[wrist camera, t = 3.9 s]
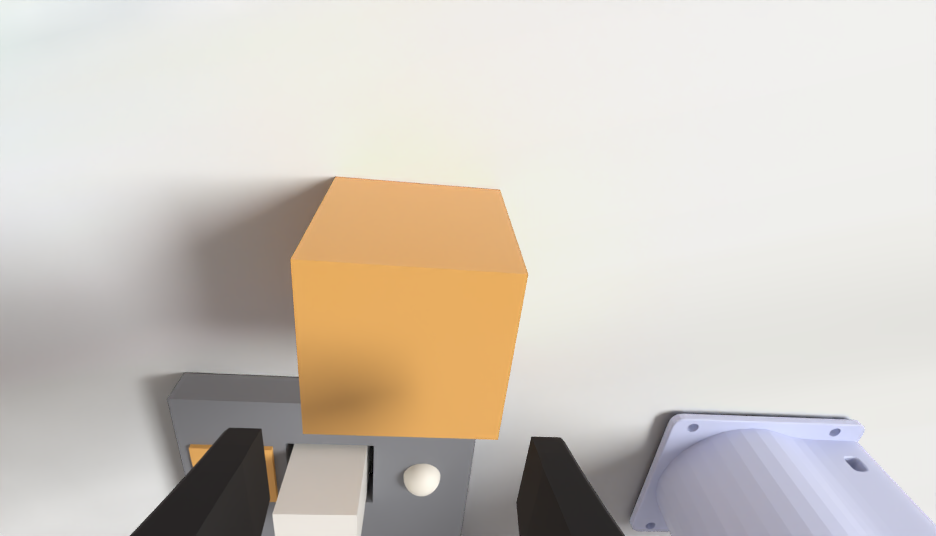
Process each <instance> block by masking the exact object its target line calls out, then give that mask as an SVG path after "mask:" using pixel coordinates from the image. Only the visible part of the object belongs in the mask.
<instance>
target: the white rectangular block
mask: <svg viewBox="0 0 936 536" xmlns="http://www.w3.org/2000/svg"><path fill="white" fill-rule="evenodd" d="M369 470H370V446H365V445H328V444H294V447H293V450H292V453H291V456H290V459H289V463H288V466H287V469H286V472H285V475H284V479H283V482H282V485H281V488H280V491H279V495H278V498H277V501H276V504H275V507H274V511H273V514H272V515H273V523H274V531H275V536H361V531H362V524H363V517H364V509H365V502H366V495H367V487H368V480H369Z"/></svg>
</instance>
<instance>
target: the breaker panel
mask: <svg viewBox="0 0 936 536" xmlns="http://www.w3.org/2000/svg"><path fill="white" fill-rule="evenodd" d="M167 401H168V405H169V409H170V413H171V418H172V422H173V426H174V430H175V434H176V439H177V443H178V447H179V451H180V455H181V460H182V464H183V468H184V472H185V476H186V475H187V474H188V472H189V471H190V470H191V469H192V468H193V467H194V466H195V465H196V463H197V462H198V461H199V460H200V459H201V458H202V456H203V455H204V454H205V453H206V452H207V451H208V450H209V448H210V447H211V446H212V445H213V444H214V443H215V441H216V440H217V439H218V438H219V437H220V435H221V434H222V433H223V432H224V431H225V430H227V429H228V428H260V429H262V436H263V444H264V452H265V460H266V468H267V476H268V484H269V492H270V502H269V506H268V510H267V514H266V518H265V523H264V527H263V531H262V534H261V536H275V531H274V523H273V515H272V514H273V511H274V507H275V504H276V501H277V498H278V495H279V491H280V488H281V485H282V482H283V479H284V475H285V472H286V469H287V466H288V463H289V459H290V456H291V453H292V450H293V447H294V444H328V445H365V446H374V468H373V475H372V474H369V480H368V487H367V495H366V502H365V509H364V517H363V524H362V531H361V536H461V530H462V524H463V517H464V511H465V504H466V498H467V491H468V485H469V478H470V472H471V465H472V459H473V452H474V446H475V439H459V438H425V437H390V436H356V435H322V434H303V428H302V414H301V400H300V386H299V377H275V376H250V375H225V374H200V373H184V374H183V376H182V377H181V379H180V380H179V382H178V383H177V385H176V386H175V388H174V389H173V391H172V392H171V394H170V395H169V397H168V398H167Z"/></svg>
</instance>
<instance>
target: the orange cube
mask: <svg viewBox="0 0 936 536" xmlns="http://www.w3.org/2000/svg"><path fill="white" fill-rule="evenodd" d="M290 261H291V275H292V289H293V303H294V317H295V331H296V345H297V359H298V373H299V386H300V400H301V414H302V428H303V434H322V435H356V436H390V437H425V438H459V439H493V440H498V436H499V430H500V425H501V419H502V414H503V408H504V403H505V398H506V392H507V387H508V381H509V376H510V370H511V365H512V359H513V354H514V348H515V343H516V338H517V332H518V327H519V321H520V316H521V310H522V305H523V299H524V294H525V288H526V283H527V278H528V272H527V269H526V266H525V263H524V260H523V258H522V255H521V252H520V249H519V246H518V243H517V240H516V237H515V234H514V231H513V228H512V225H511V222H510V219H509V216H508V213H507V210H506V207H505V204H504V201H503V198H502V195H501V192H500V190H495V189H482V188H470V187H457V186H445V185H432V184H420V183H407V182H395V181H382V180H370V179H357V178H345V177H335V179H334V180H333V182H332V184H331V186H330V188H329V190H328V191H327V193H326V195H325V197H324V199H323V201H322V202H321V204H320V206H319V208H318V210H317V211H316V213H315V215H314V217H313V219H312V221H311V222H310V224H309V226H308V228H307V230H306V232H305V233H304V235H303V237H302V239H301V241H300V243H299V244H298V246H297V248H296V250H295V252H294V254H293V255H292V257H291V259H290Z"/></svg>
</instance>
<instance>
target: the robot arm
mask: <svg viewBox="0 0 936 536" xmlns="http://www.w3.org/2000/svg"><path fill="white" fill-rule="evenodd" d="M864 430H865V429H864V426H863V425H862V424H861V423H860V422H858V421H857V420H845V419H817V418H789V417H761V416H734V415H706V414H677V415H674V416H673V417H672V418H671V419H670V420H669V422H668V425H667V427H666V430H665V432H664V435H663V437H662V440H661V442H660V445H659V447H658V450H657V452H656V455H655V458H654V460H653V463H652V465H651V468H650V470H649V473H648V475H647V478H646V480H645V483H644V485H643V488H642V490H641V493H640V495H639V498H638V500H637V503H636V505H635V508H634V510H633V513H632V515H631V518H630V524H631V527H632V529H634V530H636V531H670V533H671V536H936V525H935V524H934V523H933V521H932V520H931V519H930V518H929V517H928V516H927V515H926V514H925V513H924V512H923V511H922V510H921V509H920V508H919V507H918V506H917V505H916V503H915V502H914V501H913V500H912V499H911V498H910V497H909V496H908V495H907V494H906V493H905V492H904V491H903V490H902V489H901V488H900V487H899V486H898V484H897V483H896V482H895V481H894V480H893V479H892V478H891V477H890V476H889V475H888V474H887V473H886V472H885V471H884V470H883V469H882V468H881V466H880V465H879V464H878V463H877V462H876V461H875V460H874V459H873V458H872V457H871V456H870V455H869V454H868V453H867V452H866V451H865V450H864V449H863V447H862V446H861V445H860V444H859V443H858V441H859V439H860V438H861V436H862V435H863V433H864ZM269 502H270V492H269V484H268V476H267V468H266V460H265V452H264V444H263V436H262V429H260V428H228V429H227V430H225V431H224V432H223V433H222V434H221V435H220V437H219V438H218V439H217V440H216V441H215V443H214V444H213V445H212V446H211V447H210V448H209V450H208V451H207V452H206V453H205V454H204V455H203V456H202V458H201V459H200V460H199V461H198V462H197V463H196V465H195V466H194V467H193V468H192V469H191V470H190V471H189V472H188V474H187V475H186V476H185V477H184V478H183V479H182V480H181V481H180V483H179V484H178V485H177V486H176V487H175V488H174V489H173V490H172V491H171V493H170V494H169V495H168V496H167V497H166V498H165V499H164V500H163V501H162V502H161V503H160V504H159V505H158V506H157V508H156V509H155V510H154V511H153V512H152V513H151V514H150V515H149V516H148V517H147V518H146V519H145V520H144V521H143V522H142V524H141V525H140V526H139V527H138V528H137V529H136V530H135V531H134V532H133V533H132V534H131V535H130V536H261V534H262V531H263V527H264V523H265V518H266V514H267V510H268V506H269ZM517 514H518V525H519V535H520V536H625V535H624V534H623V532H622V531H621V529H620V528H619V527H618V525H617V524H616V522H615V521H614V519H613V518H612V516H611V515H610V514H609V512H608V511H607V509H606V508H605V506H604V505H603V503H602V502H601V500H600V498H599V497H598V495H597V494H596V492H595V491H594V489H593V488H592V486H591V484H590V483H589V481H588V480H587V478H586V477H585V475H584V473H583V472H582V470H581V468H580V467H579V465H578V464H577V462H576V460H575V459H574V457H573V455H572V454H571V452H570V450H569V449H568V447H567V445H566V443H565V442H564V441H563V440H562V439H561V438H558V437H531V441H530V446H529V450H528V454H527V459H526V463H525V468H524V472H523V476H522V481H521V485H520V490H519V494H518V498H517Z"/></svg>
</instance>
